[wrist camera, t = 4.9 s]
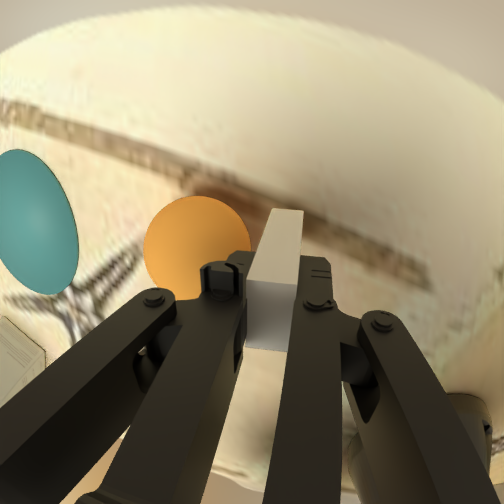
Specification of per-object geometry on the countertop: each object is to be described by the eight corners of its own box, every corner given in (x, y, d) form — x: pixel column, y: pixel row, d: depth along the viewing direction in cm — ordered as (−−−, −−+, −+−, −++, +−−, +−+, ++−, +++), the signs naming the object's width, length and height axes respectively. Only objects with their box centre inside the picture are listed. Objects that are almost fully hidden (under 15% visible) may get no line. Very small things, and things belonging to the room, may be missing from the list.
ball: (258, 185, 17) (235, 218, 12) (259, 275, 19) (240, 332, 14) (164, 185, 18) (113, 215, 13) (174, 268, 20) (136, 318, 15)
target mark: (62, 137, 18) (60, 138, 17) (95, 302, 23) (94, 304, 23) (-25, 161, 20) (-26, 161, 20) (6, 284, 25) (5, 285, 25)
